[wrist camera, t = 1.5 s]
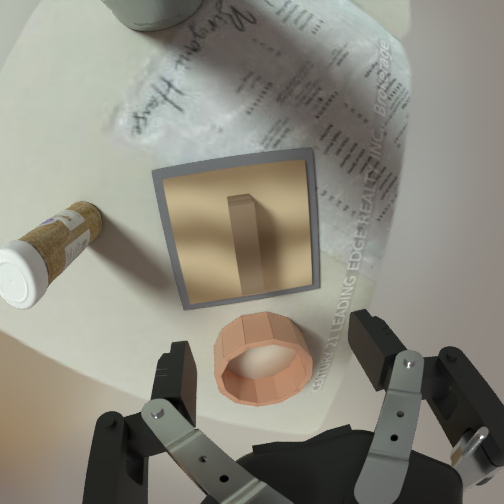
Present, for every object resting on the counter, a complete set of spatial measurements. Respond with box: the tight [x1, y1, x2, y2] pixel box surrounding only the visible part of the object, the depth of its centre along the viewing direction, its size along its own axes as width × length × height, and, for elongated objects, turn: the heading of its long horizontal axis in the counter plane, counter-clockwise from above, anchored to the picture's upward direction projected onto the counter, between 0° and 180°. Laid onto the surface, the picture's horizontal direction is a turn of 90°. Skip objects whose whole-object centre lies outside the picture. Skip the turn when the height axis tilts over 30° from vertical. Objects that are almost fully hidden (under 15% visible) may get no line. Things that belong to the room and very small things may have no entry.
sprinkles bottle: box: [0, 201, 102, 310], centre depth 20 cm, size 5×5×14 cm
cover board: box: [163, 159, 312, 304], centre depth 26 cm, size 13×13×5 cm
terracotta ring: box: [214, 312, 313, 406], centre depth 32 cm, size 11×11×5 cm
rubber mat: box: [152, 148, 319, 310], centre depth 28 cm, size 15×15×1 cm
